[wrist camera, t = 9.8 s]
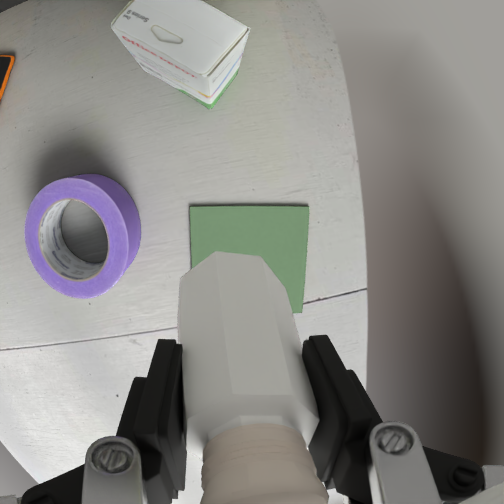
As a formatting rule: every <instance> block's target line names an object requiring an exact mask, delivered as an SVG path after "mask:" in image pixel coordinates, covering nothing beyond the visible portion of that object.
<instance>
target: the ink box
mask: <svg viewBox="0 0 504 504" xmlns="http://www.w3.org/2000/svg"><path fill="white" fill-rule="evenodd" d="M111 28H112V30H113V31H114V32H115V34H116V35H117V36H118V38H119V39H120V40H121V42H122V43H123V44H124V46H125V47H126V48H127V49H128V51H129V52H130V53H131V55H132V56H133V57H134V58H135V60H136V61H137V62H138V64H139V65H140V66H141V68H142V69H143V70H144V71H146V72H148V73H149V74H151V75H153V76H155V77H157V78H159V79H160V80H162V81H164V82H166V83H167V84H169V85H171V86H173V87H174V88H176V89H178V90H179V91H181V92H183V93H184V94H186V95H188V96H189V97H191V98H193V99H194V100H196V101H198V102H199V103H201V104H202V105H204V106H205V107H207V108H208V109H211V108H213V106H214V105H215V104H216V102H217V101H218V100H219V98H220V97H221V95H222V94H223V93H224V91H225V90H226V89H227V87H228V86H229V85H230V83H231V82H232V81H233V79H234V78H235V77H236V75H237V72H238V69H239V65H240V62H241V58H242V55H243V51H244V47H245V44H246V41H247V38H248V35H249V31H250V28H249V27H247V26H246V25H244V24H242V23H241V22H239V21H237V20H236V19H234V18H232V17H230V16H229V15H227V14H225V13H223V12H222V11H220V10H218V9H216V8H215V7H213V6H211V5H209V4H207V3H205V2H203V1H201V0H131V1H130V2H129V3H128V4H127V5H126V6H125V7H124V9H123V10H122V11H121V12H120V13H119V14H118V15H117V16H116V18H115V19H114V20H113V21H112V22H111Z"/></svg>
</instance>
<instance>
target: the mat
mask: <svg viewBox="0 0 504 504" xmlns="http://www.w3.org/2000/svg"><path fill="white" fill-rule="evenodd" d="M308 225H309V206H190V234H191V259H192V268H194V267H195V266H196V265H198V264H199V263H200V262H202V261H203V260H204V259H206V258H207V257H208V256H210V255H211V254H212V253H214V252H215V251H219V252H227V253H236V254H245V255H254V256H261V257H262V259H263V260H264V261H265V262H266V264H267V265H268V266H269V268H270V269H271V270H272V271H273V273H274V274H275V275H276V277H277V278H278V279H279V281H280V282H281V283H282V284H283V286H284V287H285V288H286V292H287V295H288V299H289V302H290V306H291V309H292V313H302V308H303V296H304V284H305V271H306V257H307V242H308Z"/></svg>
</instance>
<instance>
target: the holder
mask: <svg viewBox="0 0 504 504" xmlns="http://www.w3.org/2000/svg"><path fill="white" fill-rule="evenodd" d="M25 1H27V0H0V13H1V12H3V11H5V10H7V9H9V8H11V7H13V6H15V5H18V4H20V3H22V2H25Z"/></svg>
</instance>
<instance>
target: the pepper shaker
mask: <svg viewBox="0 0 504 504" xmlns="http://www.w3.org/2000/svg"><path fill="white" fill-rule="evenodd" d="M178 344H182V346H183V353H182V404H183V434H184V440H185V446H186V451H187V452H189V453H191V454H192V455H194V456H195V457H197V458H199V459H200V460H202V461H203V463H204V464H203V466H202V471H201V474H202V478H201V480H202V485H201V487H202V489H203V491H204V493H203V496H202V499H201V502H200V504H327V503H328V499H329V495H328V493H327V490H326V488H325V487H324V485H323V483H322V482H321V481H320V480H319V479H318V477H317V476H316V470H317V469H316V467H315V465H314V461H313V460H312V456H311V454H310V452H309V450H307V448H308V445H309V443H310V441H311V439H312V437H313V434H314V432H315V430H316V428H317V425H318V423H319V421H320V420H319V414H318V408H317V404H316V400H315V397H314V394H313V390H312V387H311V384H310V381H309V378H308V374H307V371H306V368H305V365H304V362H303V359H302V346H301V342H300V338H299V335H298V331H297V327H296V324H295V320H294V317H293V313H292V309H291V306H290V302H289V299H288V295H287V292H286V288H285V287H284V286H283V284H282V283H281V282H280V281H279V279H278V278H277V277H276V275H275V274H274V273H273V271H272V270H271V269H270V268H269V266H268V265H267V264H266V262H265V261H264V260H263V259H262V257H261V256H254V255H245V254H236V253H227V252H219V251H215V252H214V253H212V254H211V255H210V256H208V257H207V258H206V259H204V260H203V261H202V262H200V263H199V264H198V265H196V266H195V267H194V268H192V269H191V270H190V271H189V272H187V273H186V274H185V275H183V276H182V277H181V278H180V287H179V301H178Z"/></svg>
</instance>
